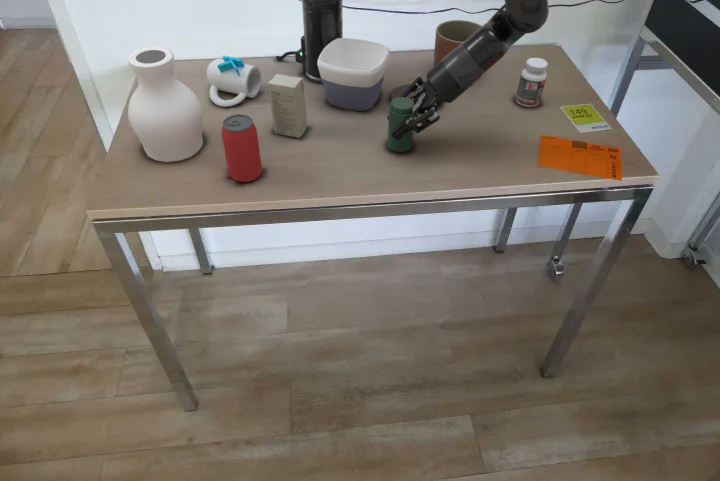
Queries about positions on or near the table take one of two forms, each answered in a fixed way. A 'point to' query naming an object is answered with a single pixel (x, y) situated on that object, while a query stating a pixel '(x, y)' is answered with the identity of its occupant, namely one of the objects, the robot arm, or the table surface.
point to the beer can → (241, 148)
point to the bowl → (353, 72)
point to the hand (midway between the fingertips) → (392, 128)
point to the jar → (397, 116)
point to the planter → (452, 36)
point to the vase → (163, 108)
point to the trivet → (399, 92)
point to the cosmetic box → (288, 105)
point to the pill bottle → (532, 82)
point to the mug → (233, 80)
